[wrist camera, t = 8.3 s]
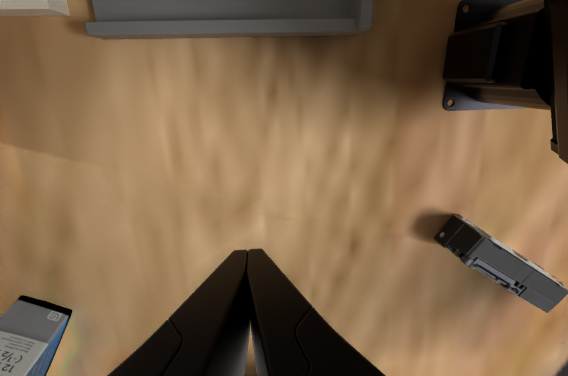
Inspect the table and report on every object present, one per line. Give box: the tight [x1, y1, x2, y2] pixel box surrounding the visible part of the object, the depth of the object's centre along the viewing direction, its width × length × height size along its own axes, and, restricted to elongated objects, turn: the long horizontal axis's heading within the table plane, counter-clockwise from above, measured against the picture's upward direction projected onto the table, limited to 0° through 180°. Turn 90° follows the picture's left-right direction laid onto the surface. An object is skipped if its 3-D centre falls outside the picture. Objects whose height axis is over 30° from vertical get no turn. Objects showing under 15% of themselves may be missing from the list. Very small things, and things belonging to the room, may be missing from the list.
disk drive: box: [434, 215, 568, 313], centre depth 28 cm, size 10×3×15 cm, turn 58°
